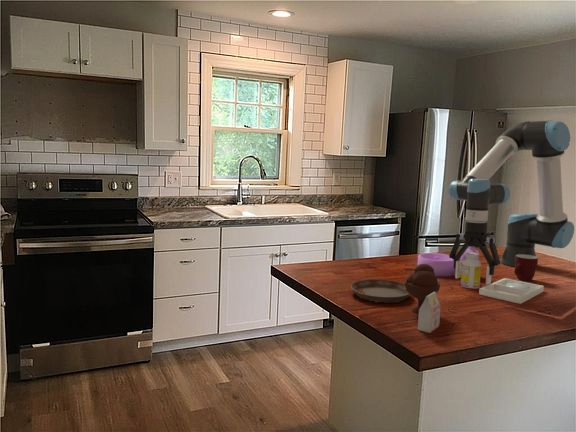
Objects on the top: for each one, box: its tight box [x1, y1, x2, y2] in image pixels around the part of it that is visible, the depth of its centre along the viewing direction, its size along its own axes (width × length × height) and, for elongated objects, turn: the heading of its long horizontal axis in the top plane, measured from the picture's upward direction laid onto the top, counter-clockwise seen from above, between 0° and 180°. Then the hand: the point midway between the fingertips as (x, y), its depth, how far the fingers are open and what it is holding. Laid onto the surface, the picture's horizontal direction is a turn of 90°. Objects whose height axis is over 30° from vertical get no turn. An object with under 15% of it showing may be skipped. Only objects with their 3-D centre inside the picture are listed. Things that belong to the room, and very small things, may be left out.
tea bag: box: [417, 292, 441, 334], centre depth 142 cm, size 4×7×10 cm, turn 143°
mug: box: [514, 254, 539, 282], centre depth 196 cm, size 10×8×10 cm
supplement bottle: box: [460, 253, 482, 289], centre depth 185 cm, size 7×7×13 cm
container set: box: [416, 246, 481, 277], centre depth 205 cm, size 25×15×13 cm, turn 49°
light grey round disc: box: [506, 283, 530, 291], centre depth 181 cm, size 8×8×2 cm
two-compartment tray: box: [478, 277, 545, 305], centre depth 178 cm, size 22×14×3 cm, turn 135°
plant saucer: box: [350, 278, 411, 304], centre depth 172 cm, size 21×21×3 cm
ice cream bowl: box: [404, 264, 441, 315], centre depth 155 cm, size 11×11×15 cm
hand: (472, 280), depth 184 cm, fingers open, 11 cm apart
